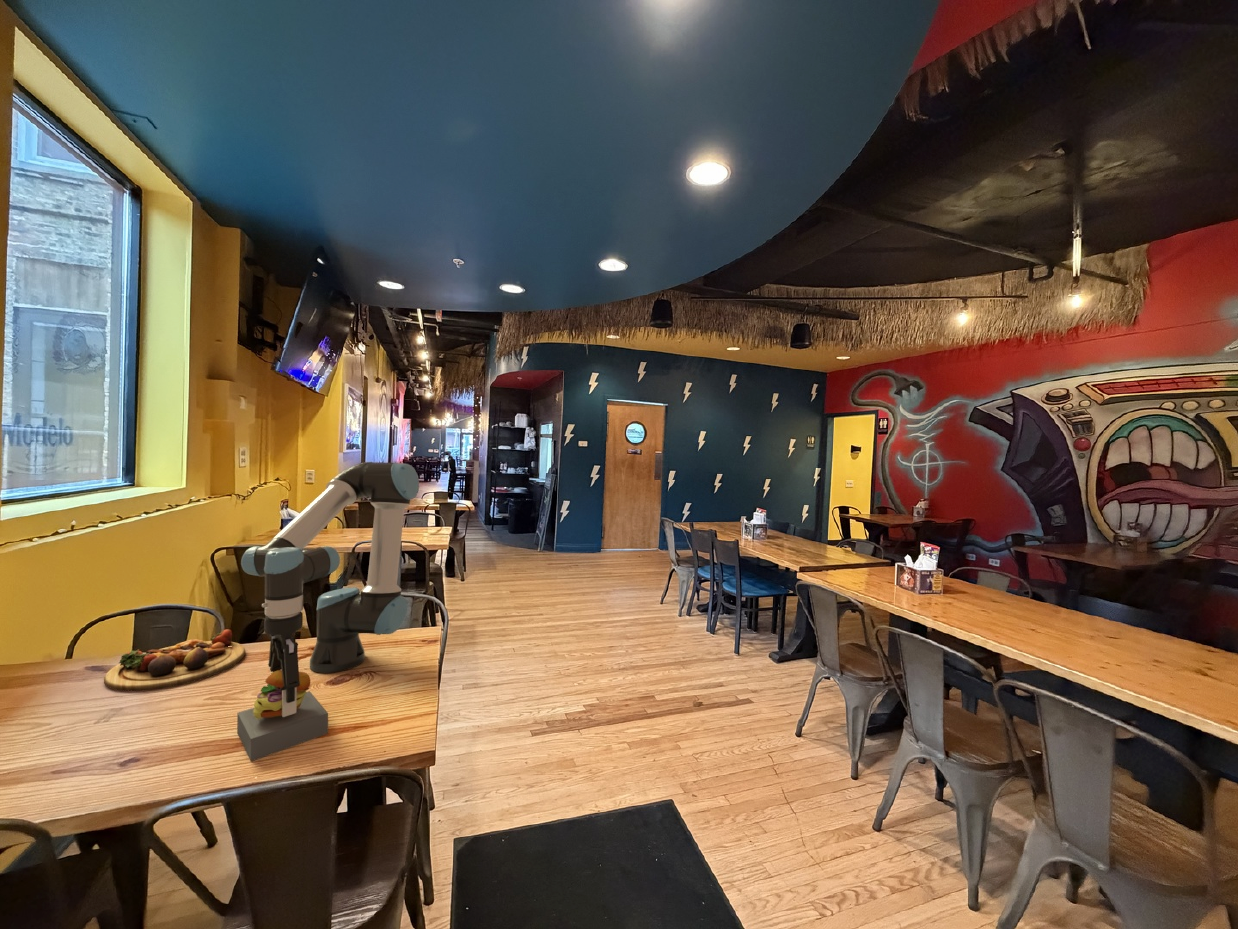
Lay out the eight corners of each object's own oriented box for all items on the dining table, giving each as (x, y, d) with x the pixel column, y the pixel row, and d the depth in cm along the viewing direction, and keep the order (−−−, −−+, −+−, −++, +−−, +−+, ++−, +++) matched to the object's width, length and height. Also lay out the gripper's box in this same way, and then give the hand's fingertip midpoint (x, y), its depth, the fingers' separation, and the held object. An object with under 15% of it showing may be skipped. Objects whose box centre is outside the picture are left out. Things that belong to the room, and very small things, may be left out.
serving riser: (309, 710, 127) (309, 691, 126) (327, 733, 116) (328, 713, 116) (237, 733, 116) (237, 712, 115) (250, 761, 105) (250, 739, 105)
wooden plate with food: (220, 640, 171) (220, 616, 171) (263, 662, 155) (263, 636, 155) (89, 674, 144) (89, 646, 144) (124, 705, 127) (124, 674, 127)
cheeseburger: (240, 714, 113) (252, 668, 115) (288, 705, 122) (298, 663, 124) (264, 726, 108) (275, 678, 110) (312, 715, 117) (322, 672, 119)
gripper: (254, 606, 120) (253, 694, 121) (276, 630, 105) (276, 731, 105) (289, 599, 126) (289, 684, 126) (316, 622, 110) (315, 718, 111)
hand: (283, 706), depth 116 cm, fingers closed on cheeseburger, 10 cm apart
